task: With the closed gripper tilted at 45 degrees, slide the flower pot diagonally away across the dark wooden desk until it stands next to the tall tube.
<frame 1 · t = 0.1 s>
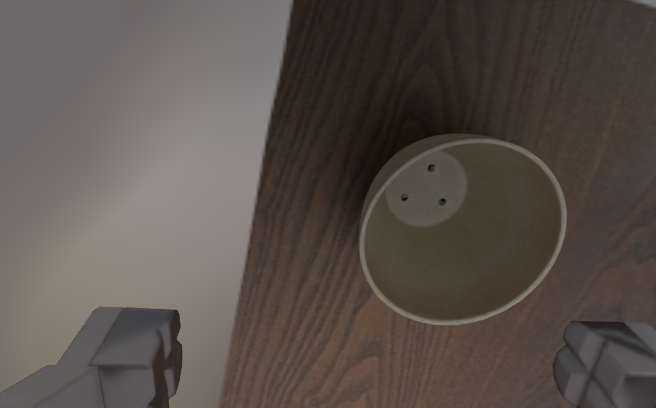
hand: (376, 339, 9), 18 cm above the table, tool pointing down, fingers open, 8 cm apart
flower pot: (424, 184, 28), on the table
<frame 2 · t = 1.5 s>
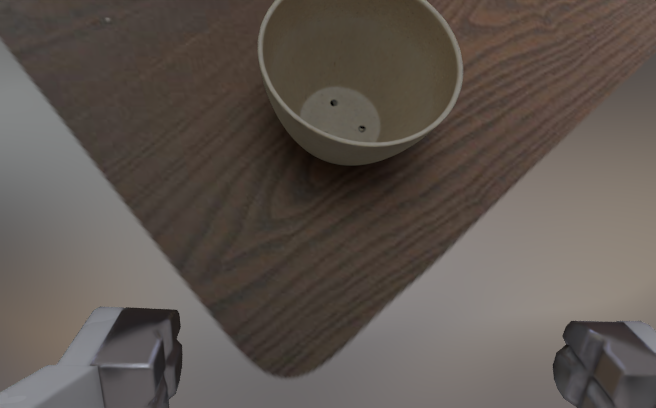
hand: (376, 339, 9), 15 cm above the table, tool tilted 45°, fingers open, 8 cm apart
flower pot: (337, 127, 28), on the table
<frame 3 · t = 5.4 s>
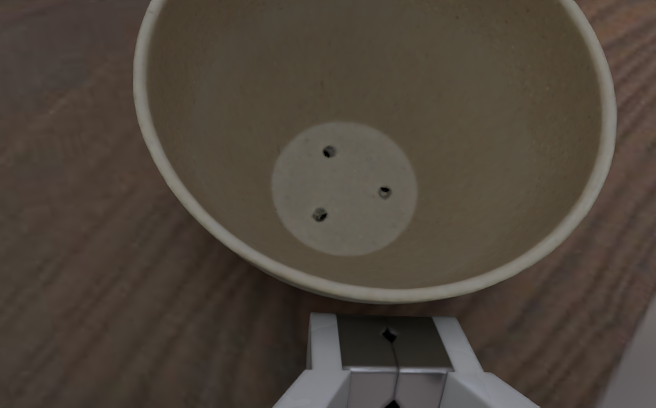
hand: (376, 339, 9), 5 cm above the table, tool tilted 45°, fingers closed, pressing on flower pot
flower pot: (340, 193, 16), on the table, touching gripper
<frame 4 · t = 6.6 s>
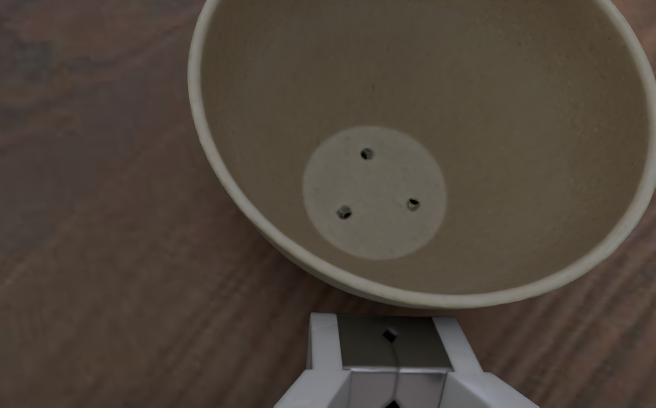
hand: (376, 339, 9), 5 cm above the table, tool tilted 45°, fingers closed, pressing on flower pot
flower pot: (369, 196, 16), on the table, touching gripper
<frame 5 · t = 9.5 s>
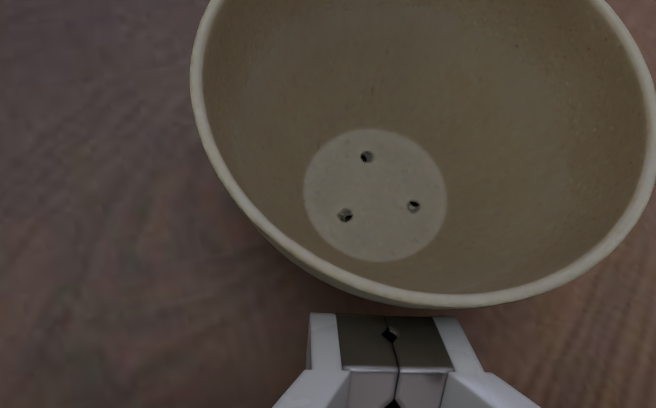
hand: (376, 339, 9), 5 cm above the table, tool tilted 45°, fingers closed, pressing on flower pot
flower pot: (369, 198, 16), on the table, touching gripper
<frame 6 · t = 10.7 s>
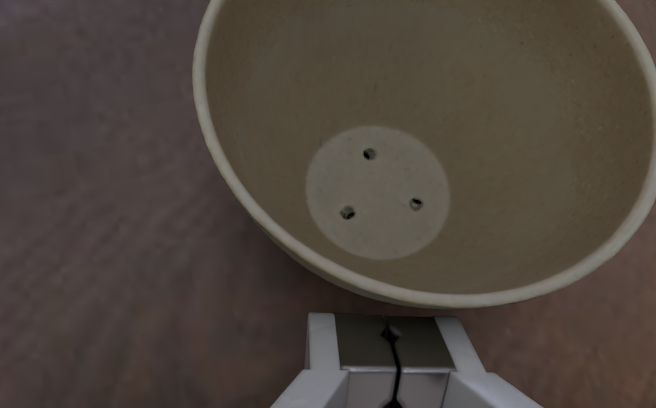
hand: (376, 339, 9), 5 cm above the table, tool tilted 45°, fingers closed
flower pot: (372, 196, 16), on the table, touching gripper
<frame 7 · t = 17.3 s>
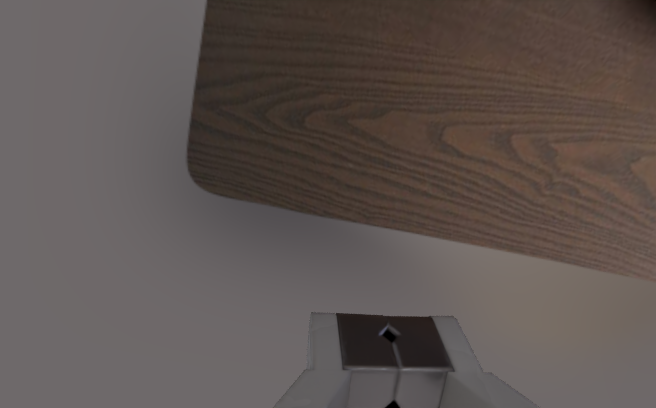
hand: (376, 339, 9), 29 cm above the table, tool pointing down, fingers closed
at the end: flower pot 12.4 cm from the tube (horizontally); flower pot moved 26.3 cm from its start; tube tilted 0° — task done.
